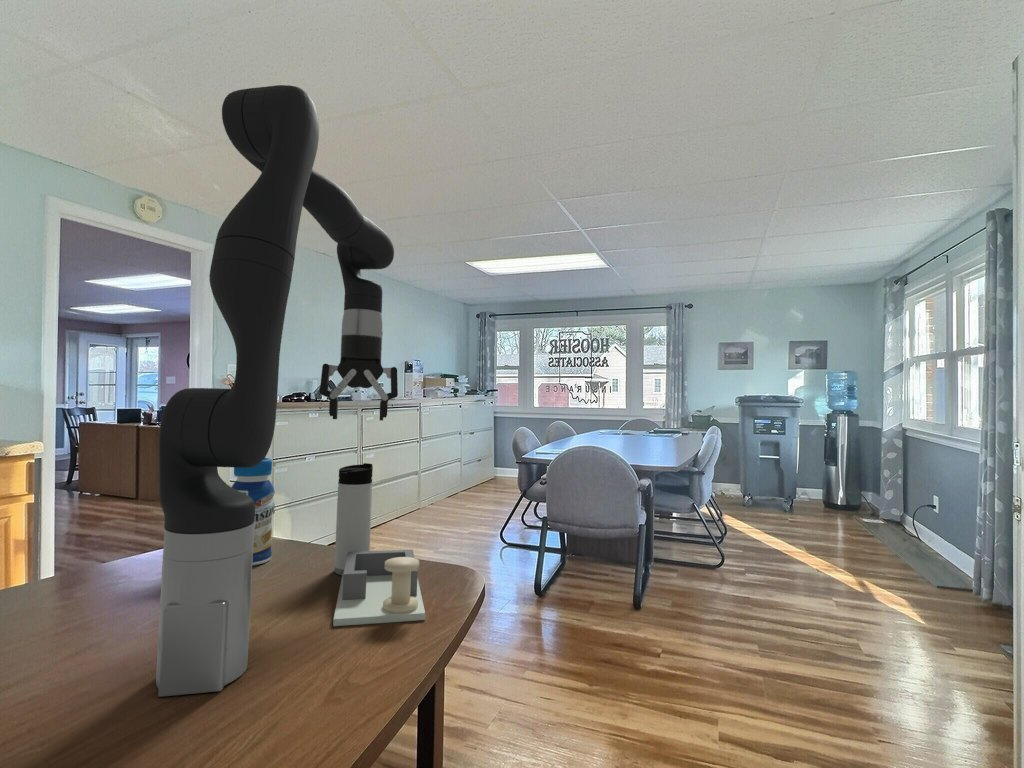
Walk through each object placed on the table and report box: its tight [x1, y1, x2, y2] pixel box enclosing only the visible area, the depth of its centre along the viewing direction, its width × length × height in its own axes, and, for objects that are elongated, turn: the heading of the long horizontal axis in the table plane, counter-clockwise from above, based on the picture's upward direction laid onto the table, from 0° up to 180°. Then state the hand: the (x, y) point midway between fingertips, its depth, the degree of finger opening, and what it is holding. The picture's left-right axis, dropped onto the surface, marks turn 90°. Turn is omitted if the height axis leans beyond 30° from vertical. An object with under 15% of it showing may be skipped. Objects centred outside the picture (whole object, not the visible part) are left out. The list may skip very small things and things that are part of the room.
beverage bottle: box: [231, 457, 276, 567], centre depth 104 cm, size 8×8×20 cm
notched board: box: [332, 549, 426, 627], centre depth 87 cm, size 20×13×8 cm, turn 14°
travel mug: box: [334, 462, 374, 576], centre depth 100 cm, size 6×7×20 cm
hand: (358, 419), depth 101 cm, fingers open, 8 cm apart
